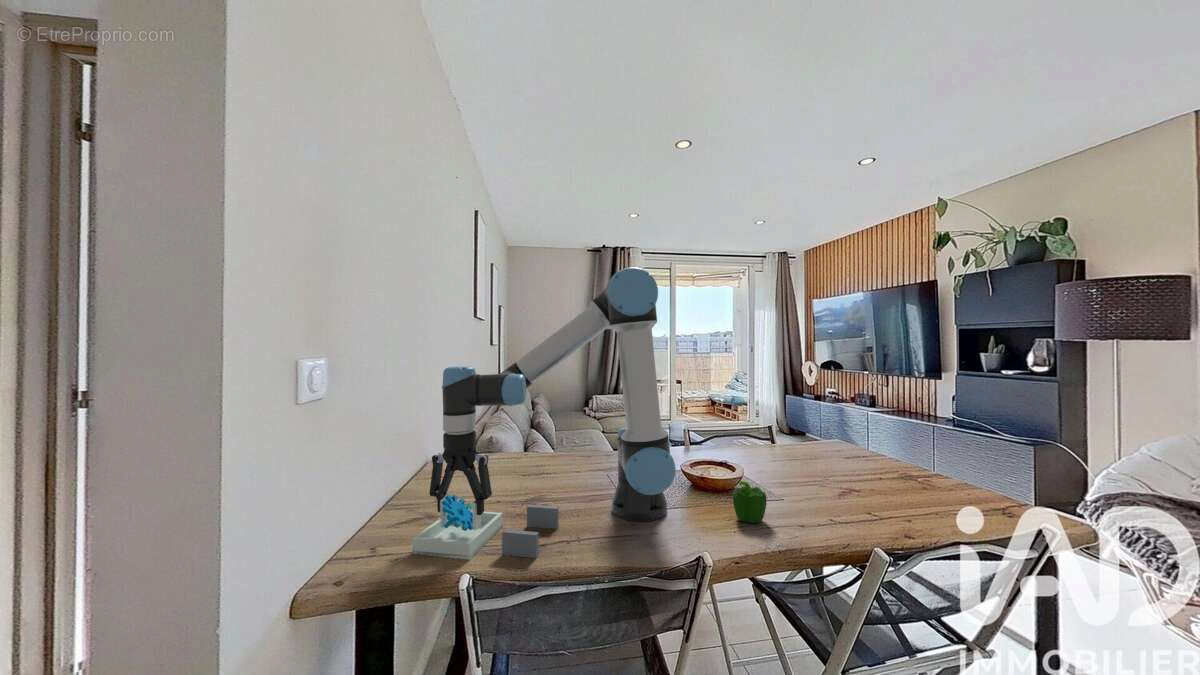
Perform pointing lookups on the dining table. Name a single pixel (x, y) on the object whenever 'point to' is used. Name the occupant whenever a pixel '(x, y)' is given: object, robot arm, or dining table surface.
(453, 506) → the gear
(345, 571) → the dining table surface
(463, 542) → the parts tray
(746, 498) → the bell pepper
